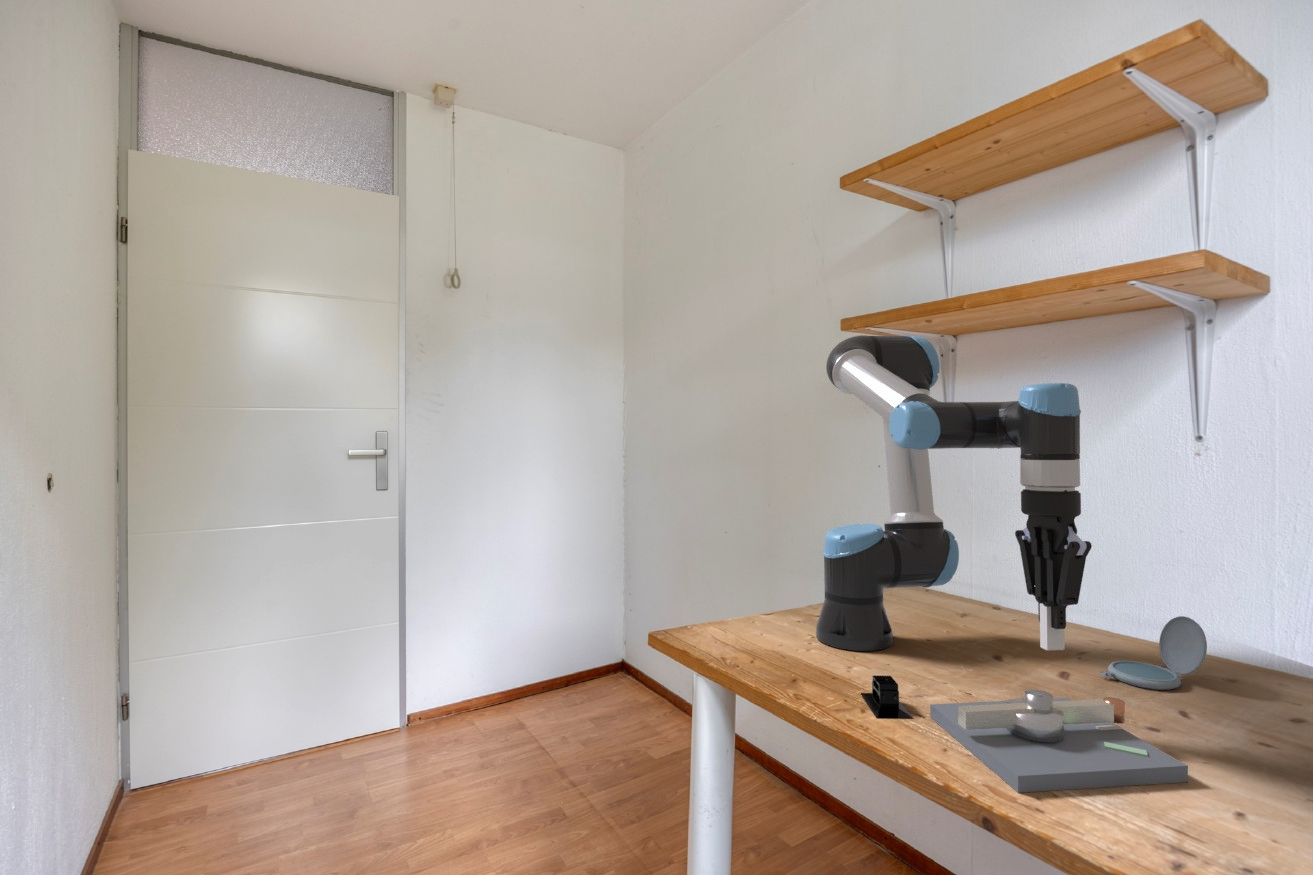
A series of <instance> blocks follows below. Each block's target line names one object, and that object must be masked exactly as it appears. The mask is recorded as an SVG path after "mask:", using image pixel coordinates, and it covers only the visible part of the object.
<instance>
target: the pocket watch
mask: <svg viewBox="0 0 1313 875" xmlns="http://www.w3.org/2000/svg"><path fill="white" fill-rule="evenodd" d="M1158 642H1159V653H1160V656H1161V659H1162V661H1163V663H1164V664H1165V666H1166V667H1164V666H1163V667H1162V666H1160V665H1156V664H1153V663H1150V662H1149V663H1148V662H1144V661H1143V662H1142V661H1135V660H1116V661H1113V662H1111V663H1110V664H1109V665H1108V667H1107V671H1098V674H1099V675H1100V676H1103V677H1105V678H1112V677H1113V678H1114V679H1115V680H1118V681H1119V682H1122V683H1124V684H1127V685H1130V686H1134V687H1138V688H1142V689H1148V690H1157V691H1159V690H1160V691H1164V690H1165V691H1167V690H1168V691H1169V690H1174V689H1176V688H1179V687H1180V686H1181V685H1182V680H1181V678H1182V675H1187V674H1188V675H1189V674H1192V673H1194V672H1195V671H1197V670H1198V669H1199V668H1200V667H1201V666H1202V664H1203V663H1204V660H1205V659H1206V656H1207V649H1208V643H1207V637H1206V634H1205V632H1204V630H1203V627H1201V625H1200V624H1199V623H1198V622H1197V621H1195V620H1194V619H1192V618H1190V617H1188V616H1176V617H1173V618H1171V619H1169V620H1168V621H1167V623H1166V624H1165V625H1164V627H1163V629H1162V630H1161V633H1160V636H1159V641H1158Z"/></svg>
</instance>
